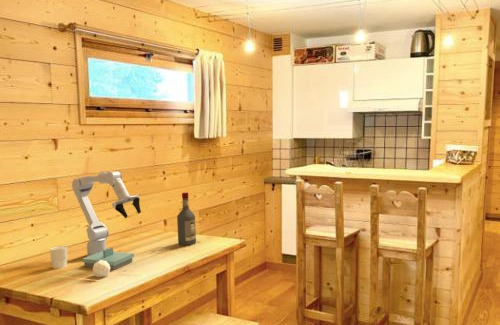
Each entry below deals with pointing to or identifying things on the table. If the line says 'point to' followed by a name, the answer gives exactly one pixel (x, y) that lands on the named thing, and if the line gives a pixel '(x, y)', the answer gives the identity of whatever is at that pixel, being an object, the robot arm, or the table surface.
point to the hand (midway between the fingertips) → (133, 215)
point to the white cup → (59, 256)
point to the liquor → (186, 224)
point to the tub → (111, 265)
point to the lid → (108, 257)
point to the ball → (101, 268)
